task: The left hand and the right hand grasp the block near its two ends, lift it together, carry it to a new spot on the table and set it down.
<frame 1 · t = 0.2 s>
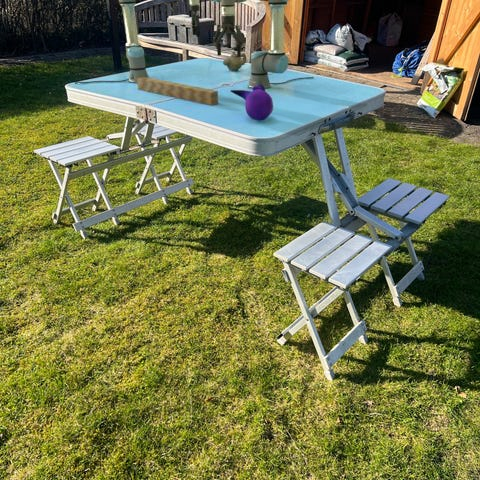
left hand: (196, 35, 349), 28 cm above the table, tool pointing down, fingers open, 13 cm apart
right hand: (229, 56, 259), 27 cm above the table, tool pointing down, fingers open, 13 cm apart
toy: (253, 117, 246), on the table
block: (175, 95, 295), on the table
teapot: (234, 71, 369), on the table
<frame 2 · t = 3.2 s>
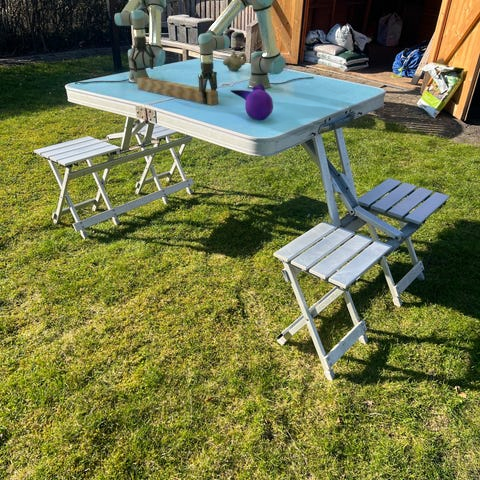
left hand: (144, 70, 308), 13 cm above the table, tool pointing down, fingers open, 13 cm apart
right hand: (208, 102, 276), 0 cm above the table, tool pointing down, fingers closed on block, 6 cm apart
block: (175, 95, 295), on the table, touching right hand
everything else where it was.
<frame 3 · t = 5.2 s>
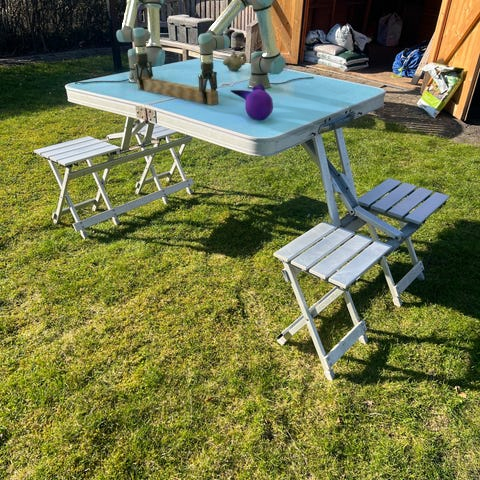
left hand: (145, 88, 314), 0 cm above the table, tool pointing down, fingers closed on block, 6 cm apart
right hand: (208, 102, 276), 0 cm above the table, tool pointing down, fingers closed on block, 6 cm apart
block: (175, 95, 295), on the table, touching left hand, right hand
everything else where it was.
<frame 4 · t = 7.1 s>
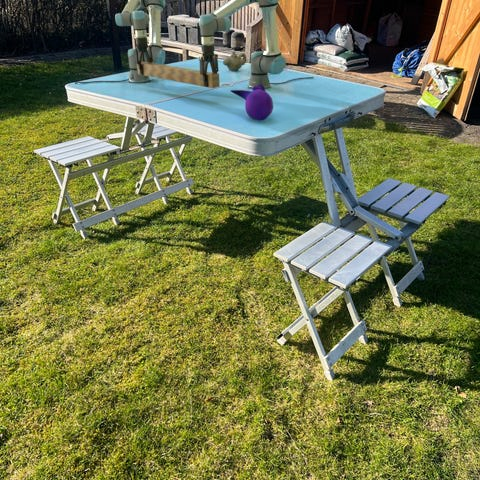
left hand: (145, 73, 309), 10 cm above the table, tool pointing down, fingers closed on block, 6 cm apart
right hand: (210, 85, 271), 10 cm above the table, tool pointing down, fingers closed on block, 6 cm apart
block: (175, 80, 291), point 10 cm above the table, touching left hand, right hand
everything else where it was.
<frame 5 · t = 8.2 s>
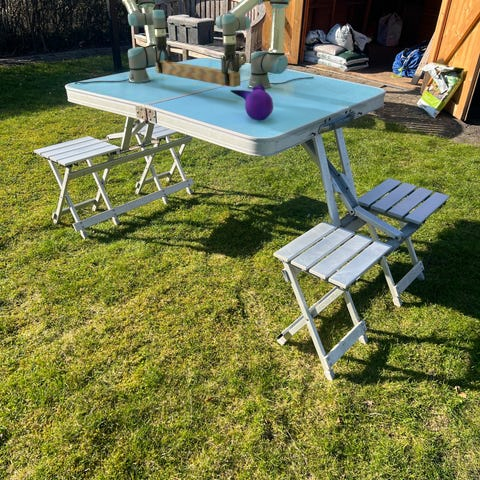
left hand: (164, 72, 312), 11 cm above the table, tool pointing down, fingers closed on block, 6 cm apart
right hand: (231, 84, 274), 10 cm above the table, tool pointing down, fingers closed on block, 6 cm apart
block: (195, 78, 293), point 10 cm above the table, touching left hand, right hand
everything else where it was.
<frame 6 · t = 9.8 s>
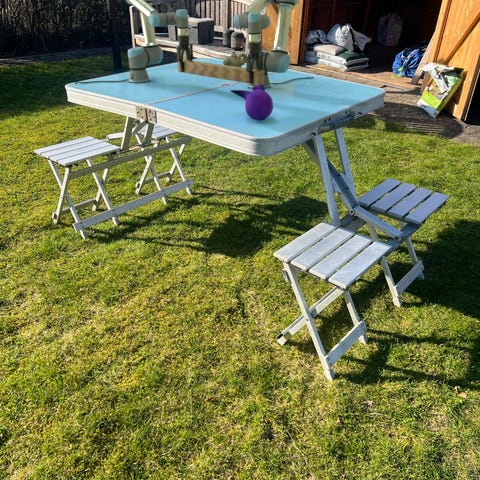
left hand: (186, 71, 315), 10 cm above the table, tool pointing down, fingers closed on block, 6 cm apart
right hand: (254, 82, 278), 10 cm above the table, tool pointing down, fingers closed on block, 6 cm apart
block: (218, 77, 297), point 10 cm above the table, touching left hand, right hand
everything else where it was.
when the left hand's fingers open (2 cm above the table, at t = 11.3 s): block drops 1 cm, on the table.
when the right hand's fingers open (2 cm above the table, at t = 11.3 s): block drops 1 cm, on the table.
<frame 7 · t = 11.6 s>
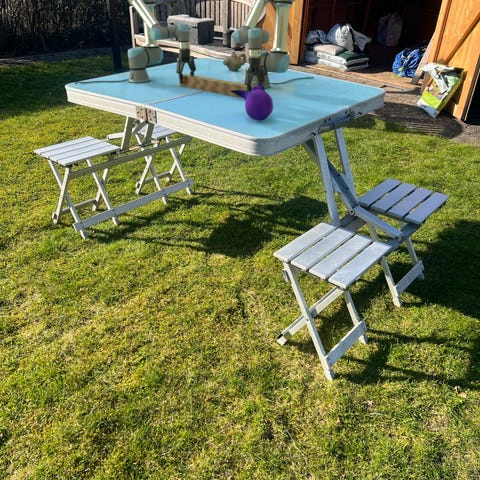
left hand: (187, 82, 319), 3 cm above the table, tool pointing down, fingers open, 9 cm apart
right hand: (254, 95, 281), 3 cm above the table, tool pointing down, fingers open, 9 cm apart
block: (219, 92, 302), on the table
everything else where it was.
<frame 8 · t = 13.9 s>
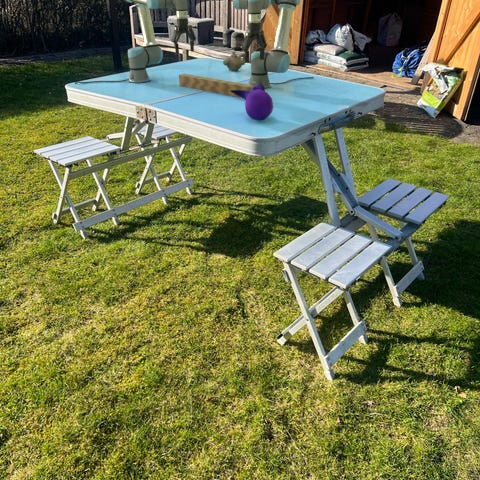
left hand: (184, 52, 309), 23 cm above the table, tool pointing down, fingers open, 13 cm apart
right hand: (254, 61, 271), 23 cm above the table, tool pointing down, fingers open, 13 cm apart
nothing on the table moved.
at the end: block inside the target area (0.2 cm from its centre), on the table; block tilted 0°; block never tilted more than 2° during the clip; both hands held the block at the same time; the left hand is holding nothing; the right hand is holding nothing; block at rest at the end (0.0 cm/s) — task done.
